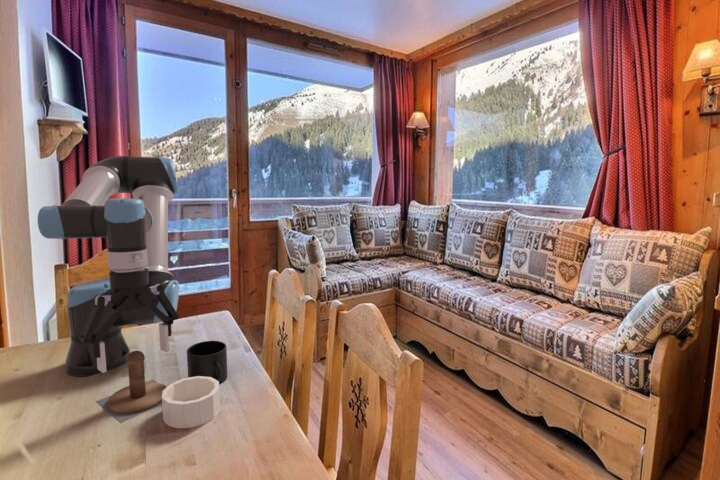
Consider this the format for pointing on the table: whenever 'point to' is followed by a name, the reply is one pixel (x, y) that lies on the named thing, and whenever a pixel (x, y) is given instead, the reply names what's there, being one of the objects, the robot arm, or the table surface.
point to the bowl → (191, 401)
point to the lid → (136, 389)
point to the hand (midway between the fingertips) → (135, 360)
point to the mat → (122, 417)
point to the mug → (208, 360)
